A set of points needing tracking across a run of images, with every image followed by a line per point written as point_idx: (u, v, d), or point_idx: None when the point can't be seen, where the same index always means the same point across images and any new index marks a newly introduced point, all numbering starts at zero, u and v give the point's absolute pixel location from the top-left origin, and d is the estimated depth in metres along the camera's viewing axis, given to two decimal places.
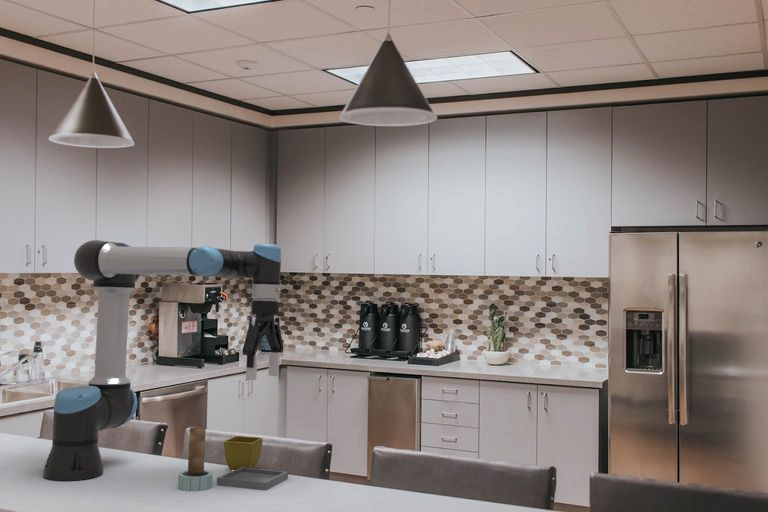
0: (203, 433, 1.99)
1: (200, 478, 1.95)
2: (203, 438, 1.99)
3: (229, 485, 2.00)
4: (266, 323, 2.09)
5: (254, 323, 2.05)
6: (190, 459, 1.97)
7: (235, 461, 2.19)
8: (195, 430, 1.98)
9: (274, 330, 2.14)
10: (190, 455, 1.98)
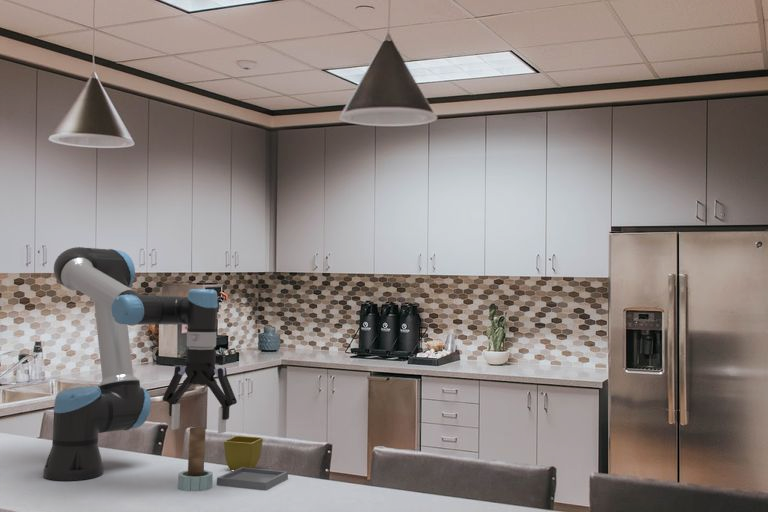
0: (203, 433, 1.99)
1: (200, 478, 1.95)
2: (203, 438, 1.99)
3: (229, 485, 2.00)
4: None
5: None
6: (190, 459, 1.97)
7: (235, 461, 2.19)
8: (195, 430, 1.98)
9: (206, 381, 1.98)
10: (190, 455, 1.98)
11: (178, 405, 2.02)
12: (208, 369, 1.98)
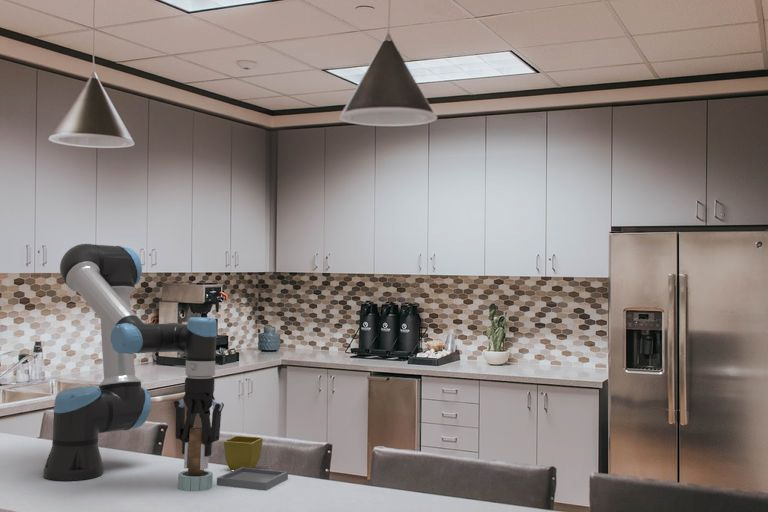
0: None
1: (200, 478, 1.95)
2: (203, 438, 1.99)
3: (229, 485, 2.00)
4: None
5: None
6: (190, 459, 1.97)
7: (235, 461, 2.19)
8: (195, 430, 1.98)
9: (200, 412, 1.98)
10: (190, 455, 1.98)
11: None
12: (207, 398, 1.98)
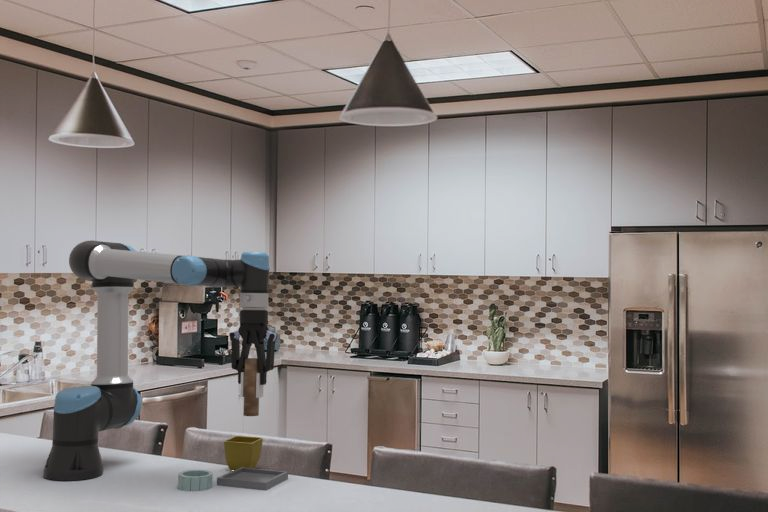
0: None
1: (200, 478, 1.95)
2: (258, 368, 2.06)
3: (229, 485, 2.00)
4: None
5: None
6: (246, 388, 2.05)
7: (235, 461, 2.19)
8: (250, 360, 2.05)
9: (255, 342, 2.05)
10: (246, 384, 2.05)
11: None
12: (262, 329, 2.05)
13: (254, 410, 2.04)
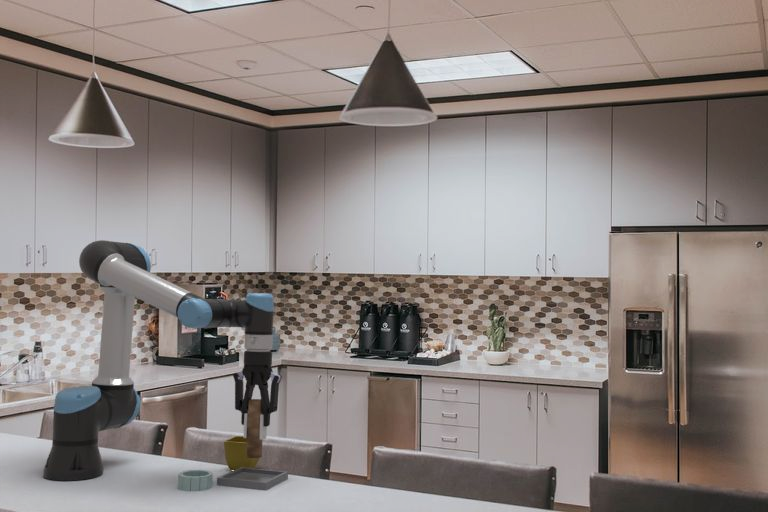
0: None
1: (200, 478, 1.95)
2: (262, 409, 2.06)
3: (229, 485, 2.00)
4: None
5: None
6: (250, 429, 2.05)
7: (235, 461, 2.19)
8: (254, 402, 2.05)
9: (259, 384, 2.05)
10: (249, 426, 2.05)
11: None
12: (266, 370, 2.06)
13: (257, 451, 2.05)
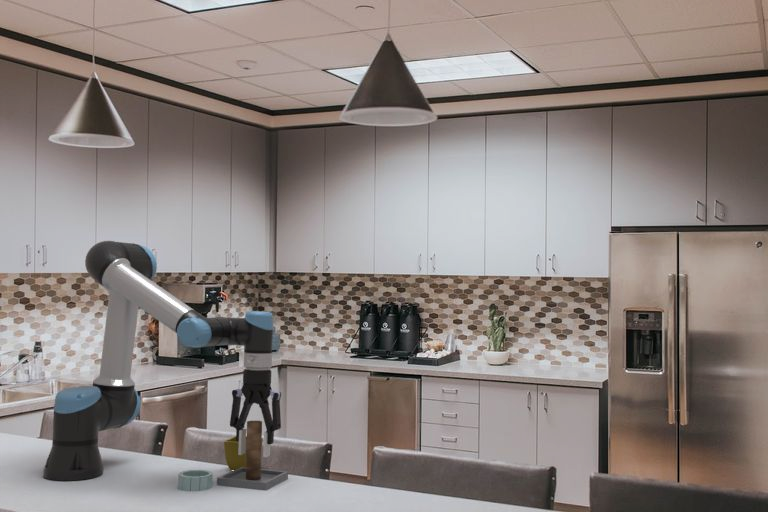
0: (260, 426, 2.06)
1: (200, 478, 1.95)
2: (260, 431, 2.06)
3: (229, 485, 2.00)
4: None
5: None
6: (248, 451, 2.05)
7: (235, 461, 2.19)
8: (253, 423, 2.05)
9: (260, 402, 2.05)
10: (248, 448, 2.05)
11: (244, 431, 2.08)
12: (265, 389, 2.06)
13: (256, 473, 2.04)
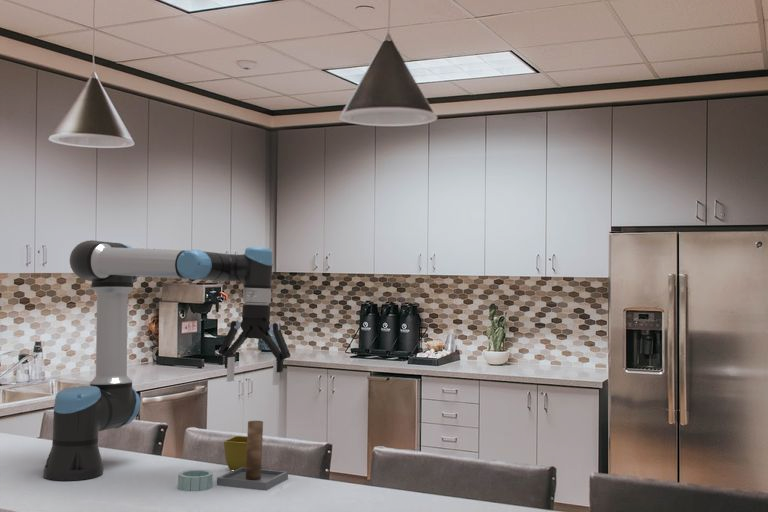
0: (261, 427, 2.06)
1: (200, 478, 1.95)
2: (261, 431, 2.06)
3: (229, 485, 2.00)
4: None
5: None
6: (249, 451, 2.05)
7: (235, 461, 2.19)
8: (253, 423, 2.05)
9: (261, 335, 2.06)
10: (249, 448, 2.05)
11: (233, 358, 2.11)
12: (263, 324, 2.07)
13: (256, 473, 2.04)
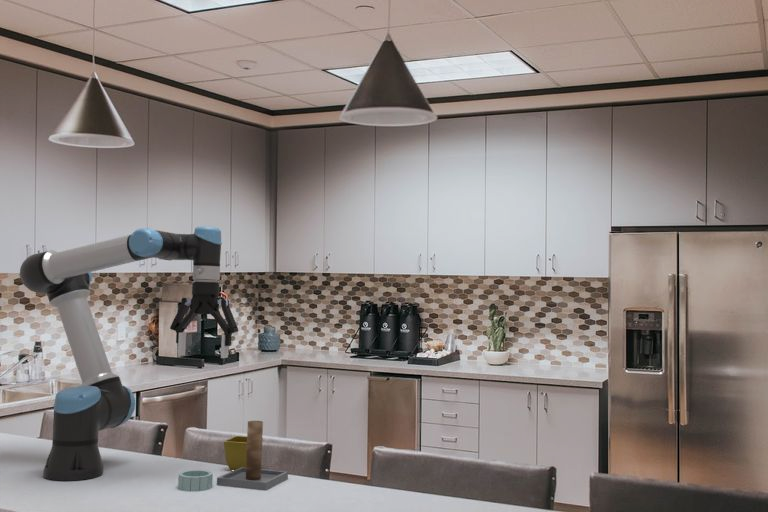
0: (261, 427, 2.06)
1: (200, 478, 1.95)
2: (261, 431, 2.06)
3: (229, 485, 2.00)
4: None
5: None
6: (248, 452, 2.05)
7: (235, 461, 2.19)
8: (253, 424, 2.05)
9: (210, 311, 2.16)
10: (248, 448, 2.05)
11: (184, 334, 2.20)
12: (212, 300, 2.16)
13: (256, 474, 2.04)
